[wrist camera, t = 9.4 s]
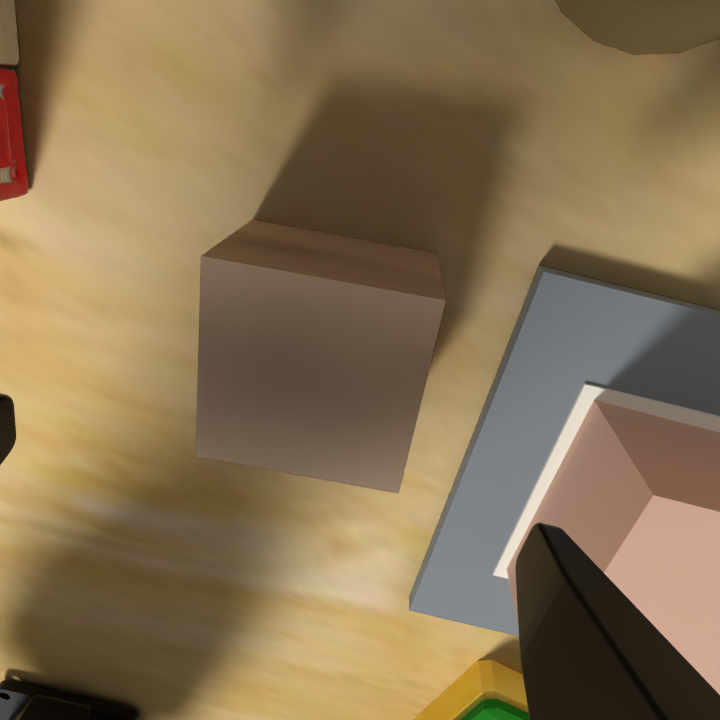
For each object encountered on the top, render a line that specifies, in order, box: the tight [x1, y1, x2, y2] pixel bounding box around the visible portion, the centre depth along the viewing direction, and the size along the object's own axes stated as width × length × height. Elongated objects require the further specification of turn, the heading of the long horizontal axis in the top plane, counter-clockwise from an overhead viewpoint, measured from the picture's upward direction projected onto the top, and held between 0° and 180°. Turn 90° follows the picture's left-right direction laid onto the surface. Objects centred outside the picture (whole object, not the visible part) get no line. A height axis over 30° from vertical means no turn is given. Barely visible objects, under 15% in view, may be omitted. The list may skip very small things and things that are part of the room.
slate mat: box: [409, 265, 720, 636], centre depth 17 cm, size 13×12×1 cm
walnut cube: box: [196, 220, 446, 494], centre depth 13 cm, size 5×5×4 cm
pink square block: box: [507, 400, 720, 695], centre depth 14 cm, size 7×7×4 cm
